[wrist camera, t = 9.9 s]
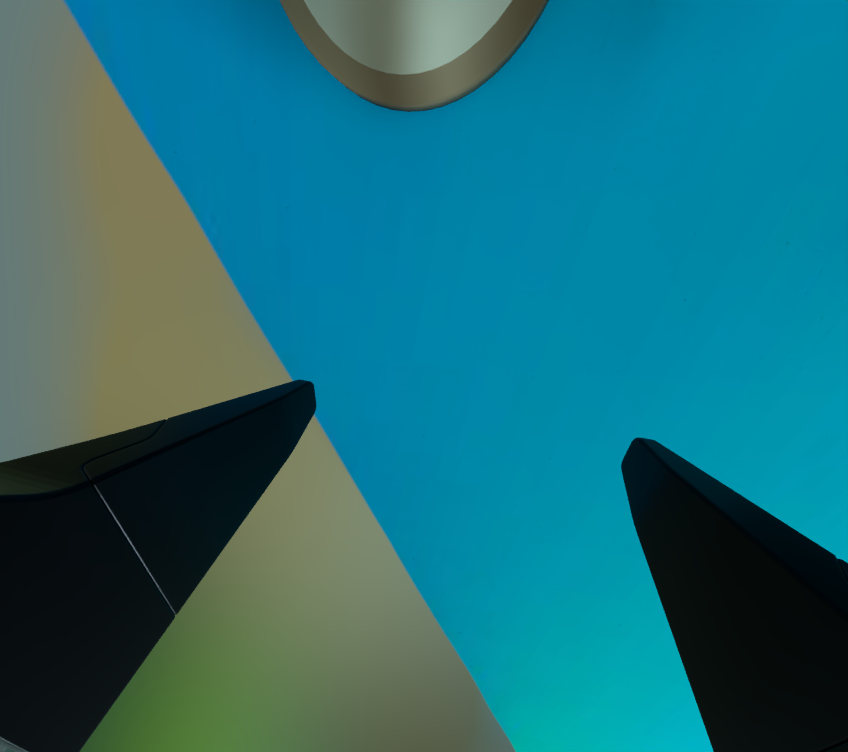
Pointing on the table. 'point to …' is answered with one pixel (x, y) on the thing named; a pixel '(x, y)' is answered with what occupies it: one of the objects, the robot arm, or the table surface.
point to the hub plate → (413, 45)
